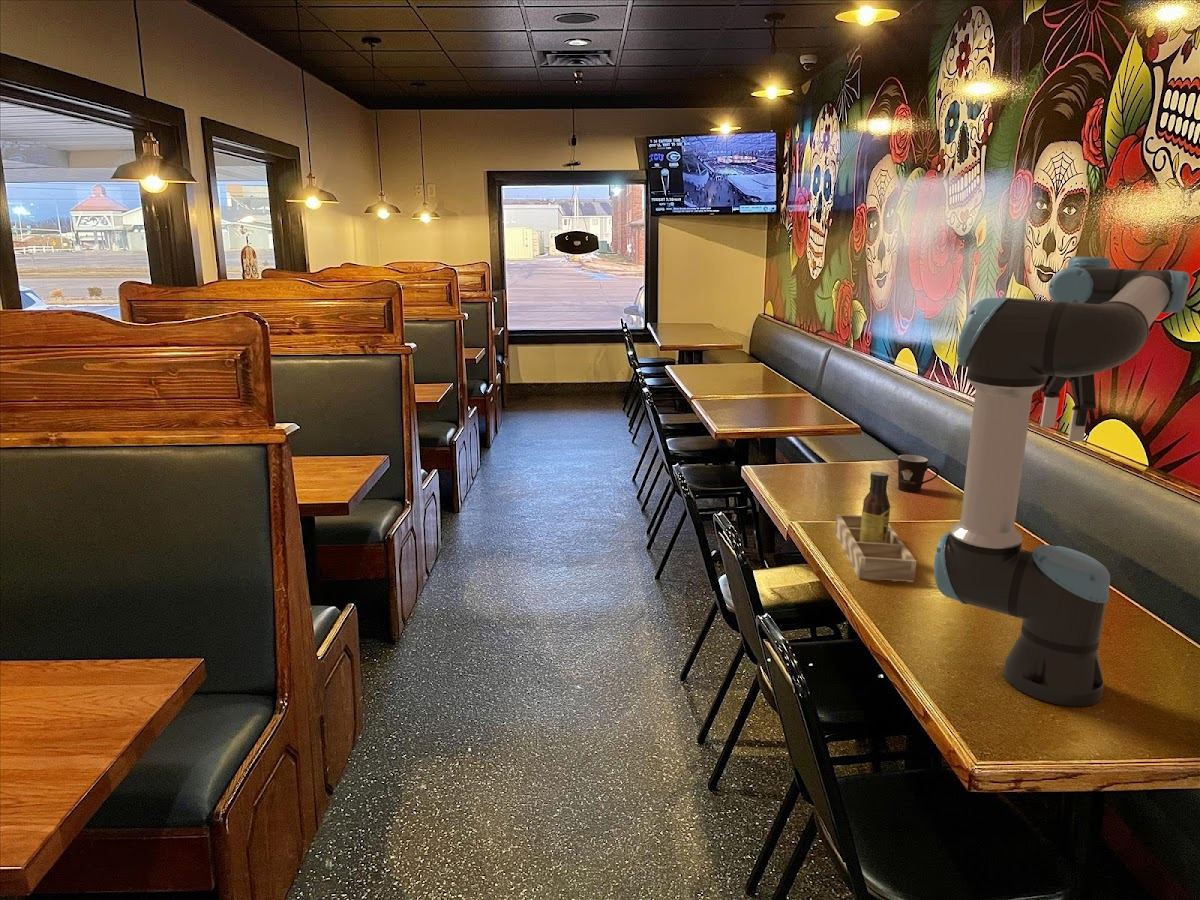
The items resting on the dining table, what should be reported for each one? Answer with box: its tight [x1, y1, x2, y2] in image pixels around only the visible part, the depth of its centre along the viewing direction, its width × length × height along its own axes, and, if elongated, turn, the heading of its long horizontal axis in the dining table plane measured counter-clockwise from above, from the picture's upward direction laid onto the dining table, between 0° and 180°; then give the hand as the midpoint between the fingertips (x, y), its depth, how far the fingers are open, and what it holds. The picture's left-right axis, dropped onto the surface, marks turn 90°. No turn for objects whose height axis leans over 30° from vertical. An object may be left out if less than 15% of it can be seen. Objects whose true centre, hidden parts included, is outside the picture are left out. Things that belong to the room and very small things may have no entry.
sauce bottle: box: [859, 471, 891, 543], centre depth 200 cm, size 7×6×20 cm
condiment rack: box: [834, 514, 917, 583], centre depth 201 cm, size 31×12×5 cm, turn 175°
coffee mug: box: [897, 454, 940, 494], centre depth 256 cm, size 12×9×10 cm
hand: (1060, 433), depth 178 cm, fingers open, 13 cm apart
